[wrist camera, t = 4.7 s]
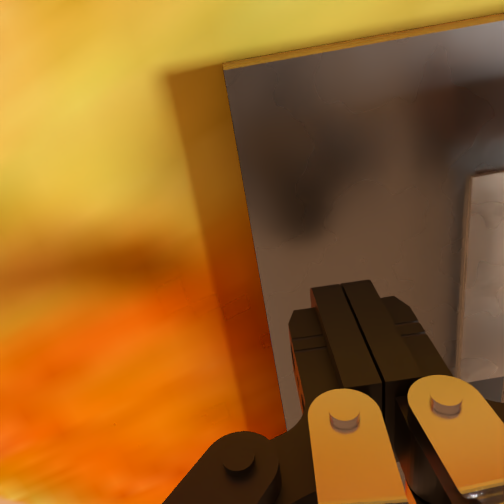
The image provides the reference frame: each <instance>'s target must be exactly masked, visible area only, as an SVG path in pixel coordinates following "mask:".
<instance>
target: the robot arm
mask: <svg viewBox="0 0 504 504" xmlns="http://www.w3.org/2000/svg"><path fill="white" fill-rule="evenodd" d="M310 300H311V308H306V309H299V310H294V311H293V313H292V316H291V318H290V321H289V323H288V328H289V337H290V346H291V354H292V363H293V371H294V376H295V381H296V386H297V391H298V395H299V399H300V405H301V410H302V417H301V419H300V420H299V421H298V423H297V424H296V425H295V426H294V427H293V428H291V429H290V430H289V431H287V432H285V433H284V434H282V435H280V436H277V437H275V438H273V439H271V440H268V439H267V438H266V437H264V436H262V435H260V434H257V433H254V432H247V431H241V432H235V433H230V434H228V435H225V436H223V437H222V438H220V439H218V440H217V441H216V442H214V443H213V444H212V445H211V446H210V447H209V448H208V450H207V451H206V452H205V453H204V454H203V456H202V457H201V458H200V459H199V460H198V462H197V463H196V464H195V465H194V466H193V468H192V469H191V470H190V471H189V472H188V473H187V475H186V476H185V477H184V478H183V479H182V481H181V482H180V483H179V484H178V485H177V487H176V488H175V489H174V490H173V491H172V493H171V494H170V495H169V496H168V497H167V499H166V500H165V501H164V502H163V503H162V504H504V403H501V402H495V401H491V400H487V399H484V397H483V396H482V395H481V394H480V393H479V391H478V390H477V389H476V388H474V387H473V386H472V385H470V384H469V383H467V382H465V381H463V380H461V379H458V378H455V377H454V376H453V375H452V373H451V372H450V370H449V368H448V367H447V365H446V364H445V362H444V360H443V359H442V357H441V356H440V354H439V352H438V351H437V349H436V348H435V346H434V344H433V343H432V341H431V340H430V338H429V337H428V335H426V333H425V330H424V329H423V327H422V325H421V324H420V323H419V322H418V319H417V317H416V316H415V314H414V313H413V311H412V309H411V308H410V306H408V305H407V304H405V303H404V302H402V301H401V300H399V299H398V298H397V297H395V296H389V297H382V298H380V296H379V294H378V293H377V291H376V289H375V287H374V285H373V283H372V282H371V280H369V279H368V280H361V281H354V282H347V283H341V284H340V285H339V284H334V285H327V286H320V287H313V288H310ZM396 462H399V463H400V465H401V468H402V470H403V473H404V475H405V479H404V487H403V484H402V480H401V477H400V474H399V470H398V467H397V464H396Z"/></svg>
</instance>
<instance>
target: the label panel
mask: <svg viewBox="0 0 504 504" xmlns="http://www.w3.org/2000/svg"><path fill="white" fill-rule="evenodd" d="M223 71H224V77H225V82H226V88H227V94H228V99H229V105H230V110H231V116H232V122H233V127H234V133H235V139H236V144H237V150H238V156H239V161H240V167H241V173H242V178H243V184H244V190H245V195H246V201H247V207H248V212H249V218H250V224H251V229H252V235H253V241H254V246H255V252H256V258H257V263H258V269H259V275H260V280H261V286H262V292H263V297H264V303H265V309H266V314H267V320H268V326H269V331H270V337H271V343H272V348H273V354H274V360H275V365H276V371H277V377H278V382H279V388H280V394H281V399H282V405H283V411H284V416H285V422H286V428H287V431H289V430H290V429H291V428H293V427H294V426H295V425H296V424H297V423H298V421H299V420H300V419H301V417H302V410H301V405H300V399H299V395H298V391H297V386H296V381H295V376H294V371H293V363H292V354H291V346H290V337H289V328H288V323H289V321H290V318H291V316H292V313H293V311H294V310H299V309H306V308H311V300H310V288H313V287H320V286H327V285H334V284H339V285H340V284H341V283H347V282H354V281H361V280H368V279H369V280H371V282H372V283H373V285H374V287H375V289H376V291H377V293H378V294H379V296H380V298H382V297H389V296H395V297H397V298H398V299H399V300H401V301H402V302H404V303H405V304H407V305H408V306H410V308H411V309H412V311H413V313H414V314H415V316H416V317H417V319H418V322H419V323H420V324H421V325H422V327H423V329H424V330H425V333H426V335H428V337H429V338H430V340H431V341H432V343H433V344H434V346H435V348H436V349H437V351H438V352H439V354H440V356H441V357H442V359H443V360H444V362H445V364H446V365H447V367H448V368H449V370H450V372H451V373H452V375H453V376H454V377H455V378H458V379H461V380H463V381H465V382H467V383H469V384H470V385H472V386H473V387H474V388H476V389H477V390H478V391H479V393H480V394H481V395H482V396H483V397H484V399H487V400H491V401H495V402H501V398H502V390H503V382H504V13H500V14H495V15H489V16H484V17H478V18H472V19H467V20H461V21H456V22H450V23H444V24H439V25H433V26H428V27H422V28H416V29H411V30H405V31H400V32H394V33H388V34H383V35H377V36H372V37H366V38H360V39H355V40H349V41H344V42H338V43H332V44H327V45H321V46H316V47H310V48H304V49H299V50H293V51H288V52H282V53H276V54H271V55H265V56H260V57H254V58H248V59H243V60H237V61H232V62H226V63H223ZM396 464H397V467H398V470H399V474H400V477H401V480H402V484H403V487H404V479H405V475H404V473H403V470H402V468H401V465H400V463H399V462H396Z"/></svg>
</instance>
